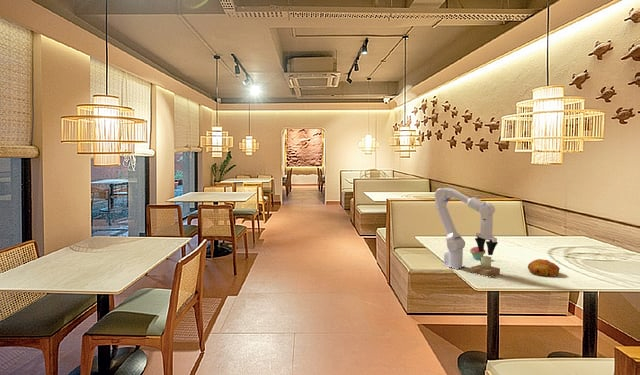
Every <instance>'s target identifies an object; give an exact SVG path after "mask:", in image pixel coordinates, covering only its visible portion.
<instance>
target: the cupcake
mask: <svg viewBox="0 0 640 375" xmlns="http://www.w3.org/2000/svg"><path fill="white" fill-rule="evenodd" d="M469 252H470V254H471V255H472V258H473V259H474V258H475V259H474V260H477V259H481V256H485V254H486V249H484V250H483V252H479V249H478V246H473V247H471V248H470V250H469Z"/></svg>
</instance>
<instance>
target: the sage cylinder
mask: <svg viewBox="0 0 640 375" xmlns="http://www.w3.org/2000/svg"><path fill="white" fill-rule="evenodd" d="M480 265H481V268H484V269H491V266H492V256H490V255H488V256H487V255H483V256H481V260H480Z"/></svg>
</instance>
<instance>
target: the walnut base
mask: <svg viewBox="0 0 640 375" xmlns="http://www.w3.org/2000/svg"><path fill="white" fill-rule="evenodd" d="M471 272H472V274H474V273H477V274H476V275H478V274H480V275H479V276H482V275H485V276H484V277H486V276H488V277H487V278H490V277H489V276H491V277H493V276H492V275H494V276H497V274H498V275H500V274H501V268H500V267H497V266H492V265H491V269H484V268H481V264H478V265H474V266H471V269H470V273H471Z"/></svg>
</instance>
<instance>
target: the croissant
mask: <svg viewBox="0 0 640 375" xmlns="http://www.w3.org/2000/svg"><path fill="white" fill-rule="evenodd" d="M527 269H528V271H529V273H530V274H533V275H535V276H540V277H550V278H551V277H556V276H558V275H559V274H560V269H561V268H560V267H559V266H558V265H557V264H555V263H554V262H552V261H550V260H549V259H541V258H538V259H533V260H532V261H531V262H529V263H528V265H527Z"/></svg>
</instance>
